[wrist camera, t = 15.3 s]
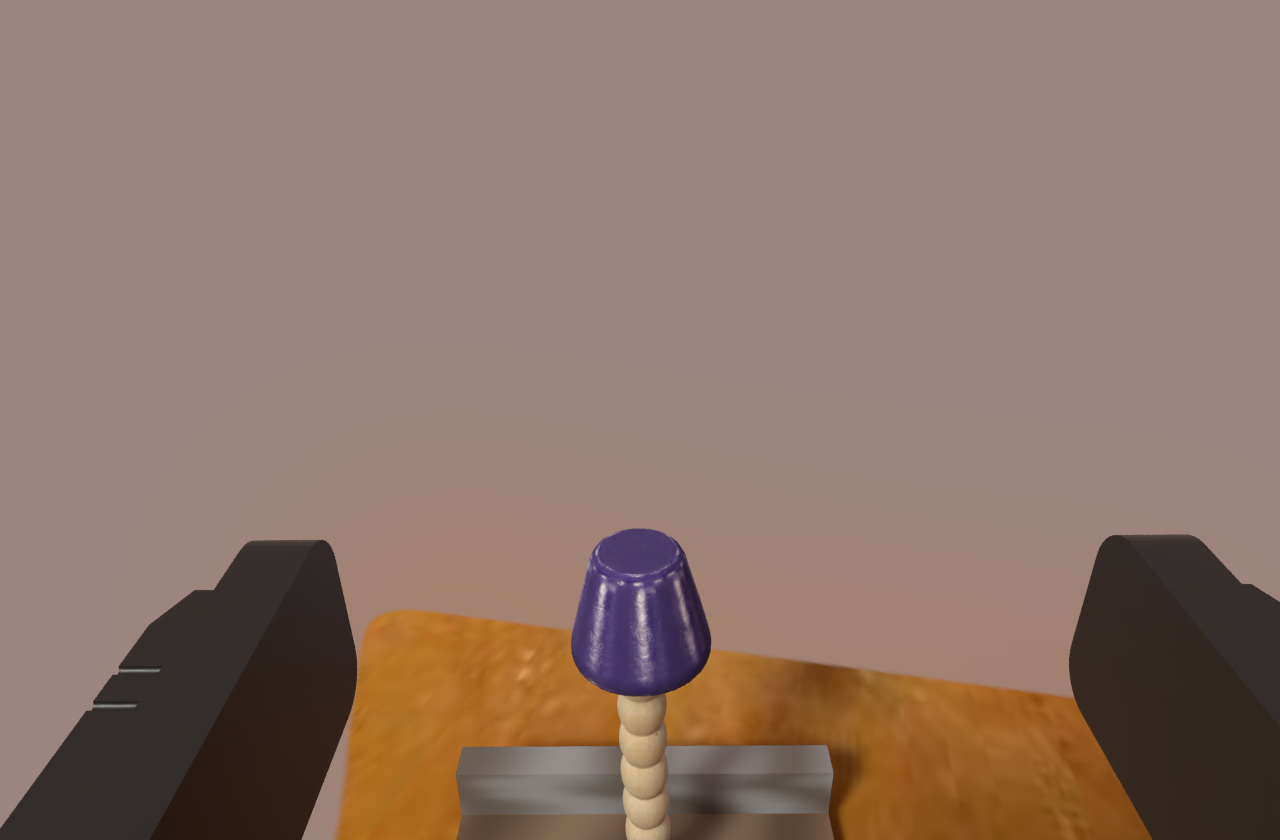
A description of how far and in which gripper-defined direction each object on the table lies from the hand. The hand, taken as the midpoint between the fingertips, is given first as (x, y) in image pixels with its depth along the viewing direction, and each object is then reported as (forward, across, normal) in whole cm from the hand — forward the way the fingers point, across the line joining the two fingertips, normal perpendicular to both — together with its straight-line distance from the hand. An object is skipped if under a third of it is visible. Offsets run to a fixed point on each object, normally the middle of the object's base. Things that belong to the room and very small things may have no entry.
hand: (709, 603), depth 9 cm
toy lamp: (+15, +1, +27) cm, 31 cm away
